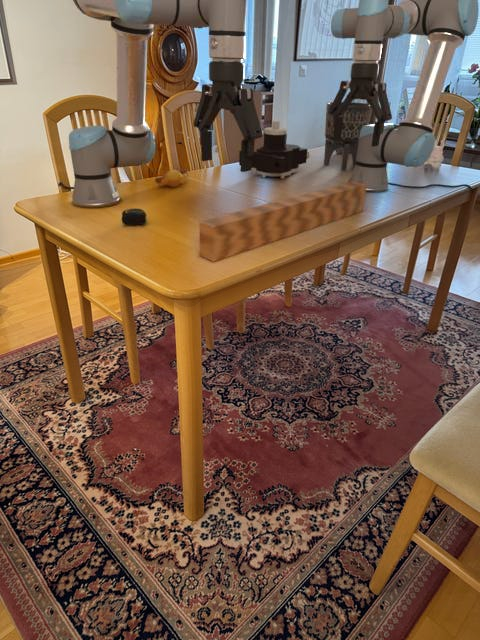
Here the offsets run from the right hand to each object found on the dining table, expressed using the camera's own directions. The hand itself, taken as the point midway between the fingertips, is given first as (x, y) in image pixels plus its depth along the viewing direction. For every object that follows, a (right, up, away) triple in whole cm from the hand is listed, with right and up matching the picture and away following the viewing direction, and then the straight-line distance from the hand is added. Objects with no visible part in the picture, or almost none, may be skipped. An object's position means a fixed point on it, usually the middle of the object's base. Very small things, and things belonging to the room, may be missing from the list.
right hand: (355, 143), depth 137 cm
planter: (+12, +17, +73) cm, 76 cm away
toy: (-60, -2, +38) cm, 71 cm away
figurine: (+54, +16, +73) cm, 92 cm away
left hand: (-38, -18, -32) cm, 53 cm away
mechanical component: (-17, +10, +59) cm, 63 cm away
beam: (-20, -27, -5) cm, 34 cm away
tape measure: (-66, -26, -4) cm, 71 cm away
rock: (+23, +35, +104) cm, 112 cm away
